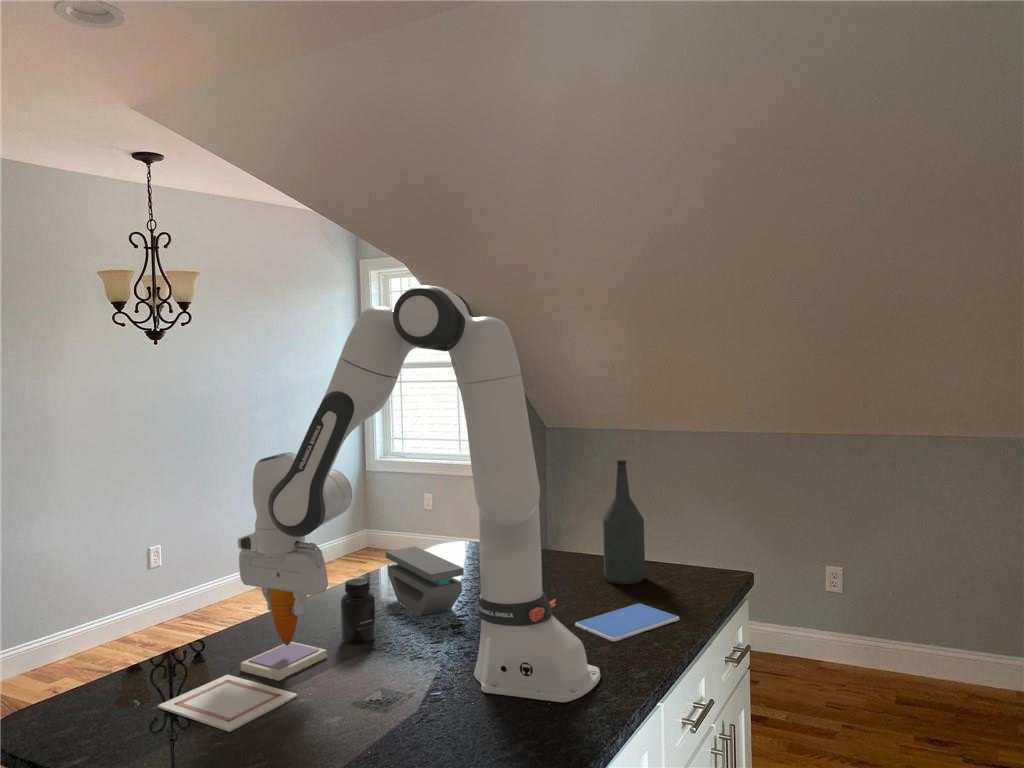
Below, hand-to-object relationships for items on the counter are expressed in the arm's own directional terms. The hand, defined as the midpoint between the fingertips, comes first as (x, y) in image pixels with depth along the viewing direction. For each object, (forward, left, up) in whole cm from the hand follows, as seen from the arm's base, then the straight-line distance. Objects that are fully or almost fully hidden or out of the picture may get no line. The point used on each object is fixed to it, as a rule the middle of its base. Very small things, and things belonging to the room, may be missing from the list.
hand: (285, 612), depth 146 cm
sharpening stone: (-2, -39, -10) cm, 40 cm away
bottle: (-35, -78, -10) cm, 86 cm away
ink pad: (+1, 0, -10) cm, 10 cm away
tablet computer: (-48, -49, -11) cm, 70 cm away
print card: (-3, +16, -10) cm, 19 cm away
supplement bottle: (-3, -16, -10) cm, 19 cm away
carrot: (0, 0, -7) cm, 7 cm away
